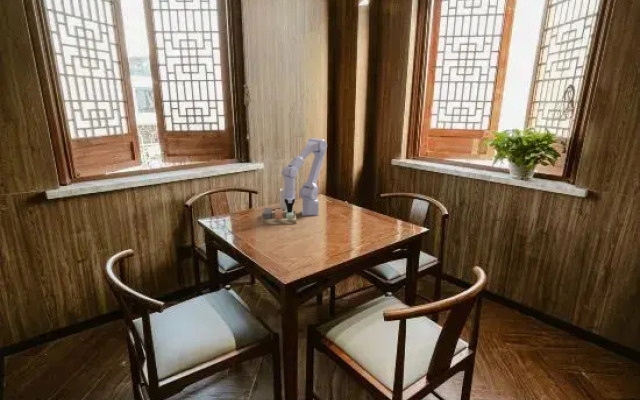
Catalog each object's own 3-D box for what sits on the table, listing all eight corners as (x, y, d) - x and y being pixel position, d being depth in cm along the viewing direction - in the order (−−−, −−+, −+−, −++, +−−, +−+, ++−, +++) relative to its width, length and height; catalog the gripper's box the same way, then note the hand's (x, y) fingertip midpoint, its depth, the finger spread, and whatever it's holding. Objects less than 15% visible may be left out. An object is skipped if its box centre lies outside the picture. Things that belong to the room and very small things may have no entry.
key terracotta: (282, 215, 200) (282, 209, 199) (282, 222, 189) (282, 215, 188) (275, 215, 199) (275, 209, 198) (275, 222, 189) (275, 215, 188)
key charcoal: (271, 214, 199) (271, 207, 198) (271, 220, 188) (271, 213, 187) (264, 214, 198) (264, 207, 197) (263, 220, 188) (263, 213, 187)
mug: (277, 209, 213) (277, 190, 210) (282, 206, 219) (282, 187, 216) (292, 211, 209) (292, 192, 206) (297, 208, 215) (297, 189, 212)
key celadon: (292, 215, 200) (292, 209, 199) (293, 222, 190) (293, 215, 189) (285, 215, 200) (285, 209, 199) (286, 222, 189) (286, 215, 188)
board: (295, 215, 203) (295, 211, 202) (296, 223, 188) (296, 219, 188) (262, 215, 200) (262, 211, 200) (261, 224, 186) (261, 219, 185)
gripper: (282, 185, 197) (282, 208, 200) (282, 191, 183) (282, 216, 186) (294, 185, 198) (294, 208, 201) (295, 191, 184) (295, 216, 187)
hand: (289, 212), depth 194 cm, fingers closed, pressing on key celadon
